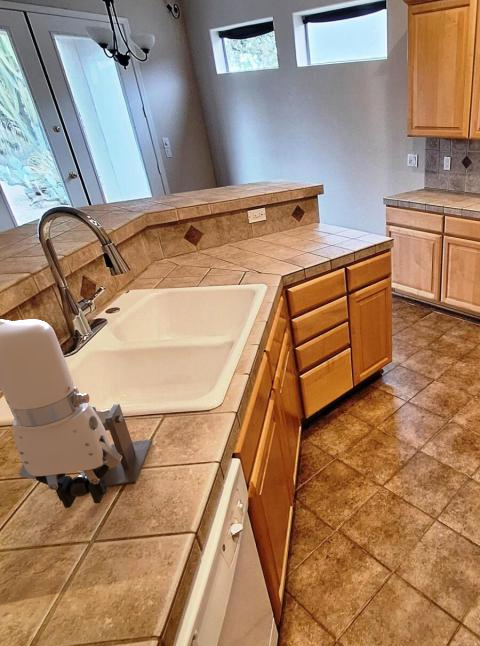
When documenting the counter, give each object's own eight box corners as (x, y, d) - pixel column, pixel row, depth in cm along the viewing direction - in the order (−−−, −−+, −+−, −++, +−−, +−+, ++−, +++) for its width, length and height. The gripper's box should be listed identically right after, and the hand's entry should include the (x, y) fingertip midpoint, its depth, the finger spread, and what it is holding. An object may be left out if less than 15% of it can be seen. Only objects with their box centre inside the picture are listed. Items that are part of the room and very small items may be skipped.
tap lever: (94, 499, 68) (85, 488, 66) (70, 503, 67) (60, 492, 65) (118, 419, 80) (111, 407, 77) (98, 421, 79) (90, 409, 77)
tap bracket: (136, 485, 78) (116, 429, 72) (80, 494, 76) (55, 437, 70) (153, 443, 88) (137, 391, 83) (104, 450, 86) (84, 397, 81)
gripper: (120, 385, 66) (149, 474, 74) (-6, 397, 62) (38, 490, 71) (103, 413, 60) (136, 508, 68) (-40, 429, 56) (14, 527, 64)
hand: (86, 498), depth 69 cm, fingers closed on tap lever, 3 cm apart
